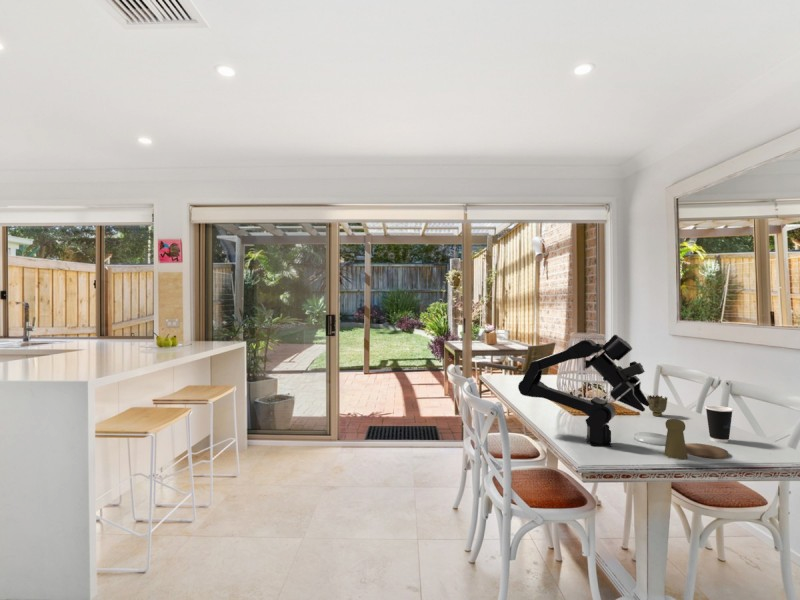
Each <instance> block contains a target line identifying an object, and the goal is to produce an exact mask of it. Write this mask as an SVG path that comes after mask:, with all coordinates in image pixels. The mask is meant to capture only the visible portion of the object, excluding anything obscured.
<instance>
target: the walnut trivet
mask: <svg viewBox="0 0 800 600" xmlns="http://www.w3.org/2000/svg"><path fill="white" fill-rule="evenodd" d="M685 446H686V452H687V455H691V456H695V457H700V458H704V459H705V458H706V459H719V460H720V459H726V458H728V457H729V451H728V450H727V449H726V448H725V449H724V448H722V447H719V446H716V445H711V444H705V443H692V442H691V443H689V442H688V443H685Z"/></svg>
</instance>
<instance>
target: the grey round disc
mask: <svg viewBox="0 0 800 600" xmlns="http://www.w3.org/2000/svg"><path fill="white" fill-rule="evenodd" d="M666 438H667V435H665V434H661V433H657V432H656V433H655V432H636V433H634V434H633V440H635V441H636V442H639V443H641V444H646V445H653V446H663V447H664V446H665V445H666Z"/></svg>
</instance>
